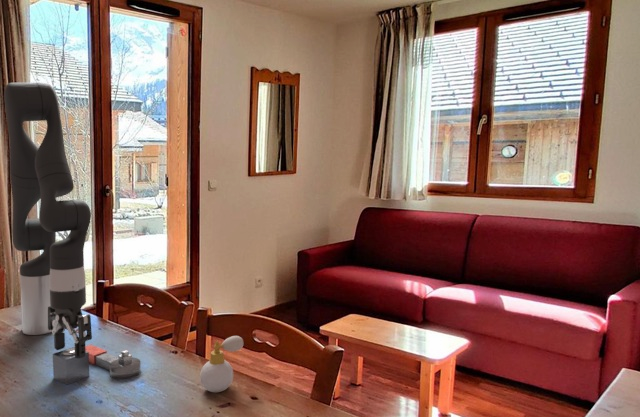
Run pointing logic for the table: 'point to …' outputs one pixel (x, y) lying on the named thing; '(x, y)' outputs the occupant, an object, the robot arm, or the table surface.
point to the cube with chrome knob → (70, 366)
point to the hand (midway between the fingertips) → (69, 353)
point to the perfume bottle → (220, 366)
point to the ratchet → (115, 362)
